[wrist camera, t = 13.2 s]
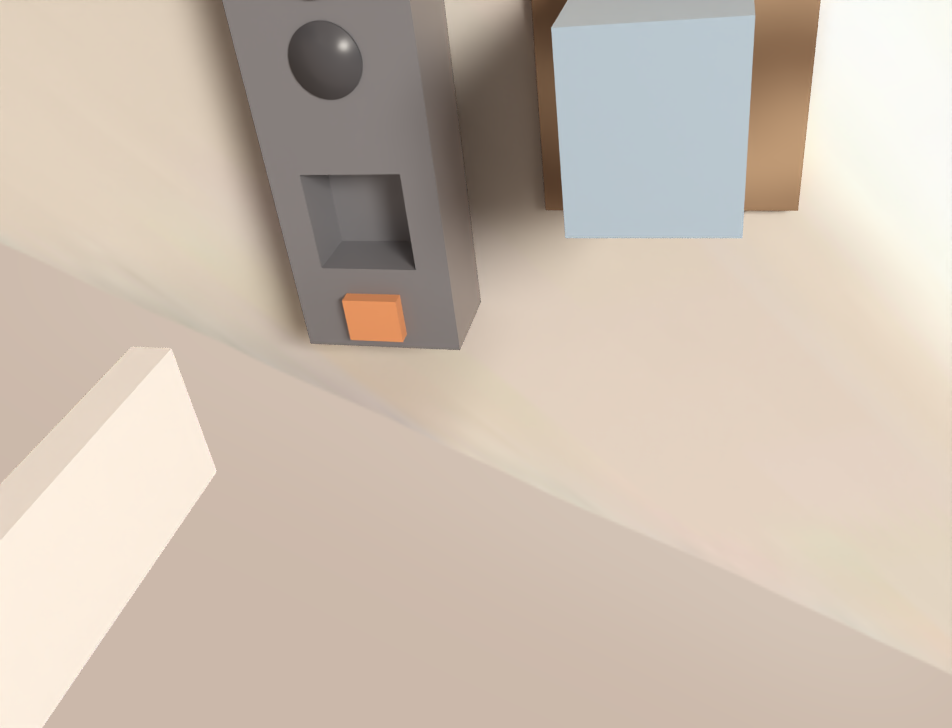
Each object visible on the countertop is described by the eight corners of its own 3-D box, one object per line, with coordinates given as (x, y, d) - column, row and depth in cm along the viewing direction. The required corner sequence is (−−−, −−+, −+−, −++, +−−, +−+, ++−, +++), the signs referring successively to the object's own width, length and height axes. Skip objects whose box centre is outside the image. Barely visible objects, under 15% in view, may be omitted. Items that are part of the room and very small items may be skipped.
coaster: (522, -181, 30) (519, -179, 29) (841, -216, 27) (843, -215, 27) (547, 203, 37) (545, 210, 37) (797, 203, 35) (797, 210, 34)
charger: (599, -54, 31) (551, 27, 23) (749, -66, 29) (755, 15, 21) (605, 117, 34) (565, 240, 26) (740, 112, 33) (742, 240, 25)
